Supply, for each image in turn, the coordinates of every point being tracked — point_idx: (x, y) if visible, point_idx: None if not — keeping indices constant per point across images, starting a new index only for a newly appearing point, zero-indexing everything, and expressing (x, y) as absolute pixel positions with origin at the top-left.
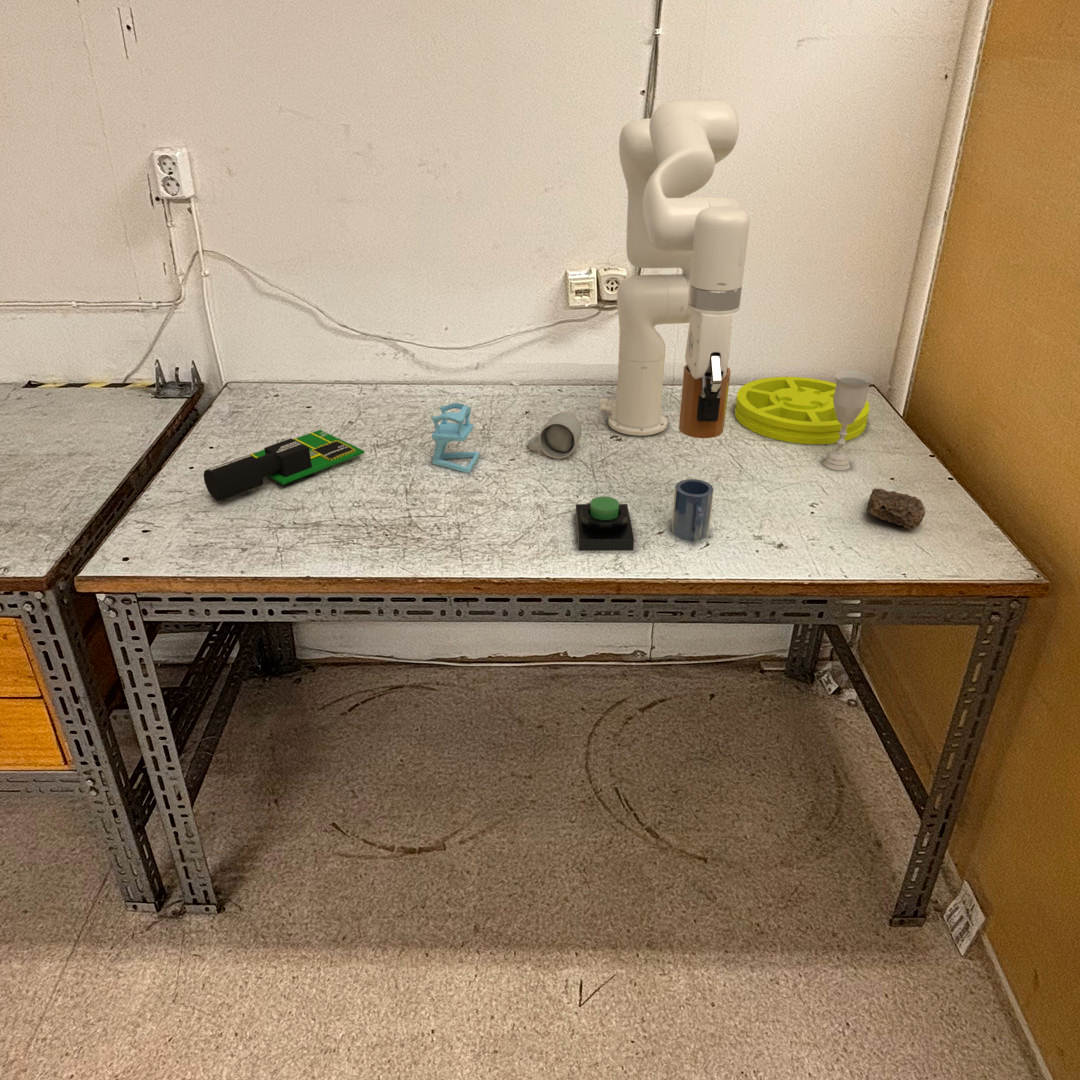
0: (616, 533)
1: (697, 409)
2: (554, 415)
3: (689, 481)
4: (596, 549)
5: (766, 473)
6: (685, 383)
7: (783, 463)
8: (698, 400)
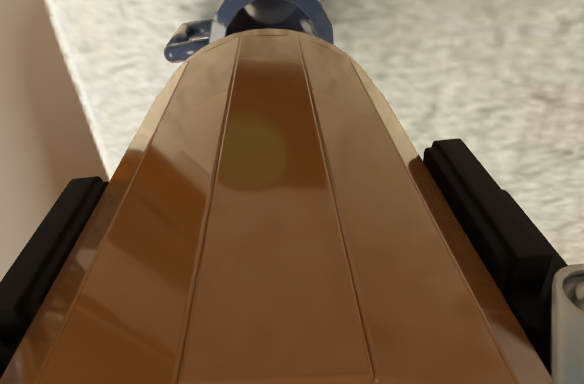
0: None
1: (66, 217)
2: None
3: (317, 33)
4: None
5: (541, 201)
6: (138, 245)
7: (577, 234)
8: (29, 273)
